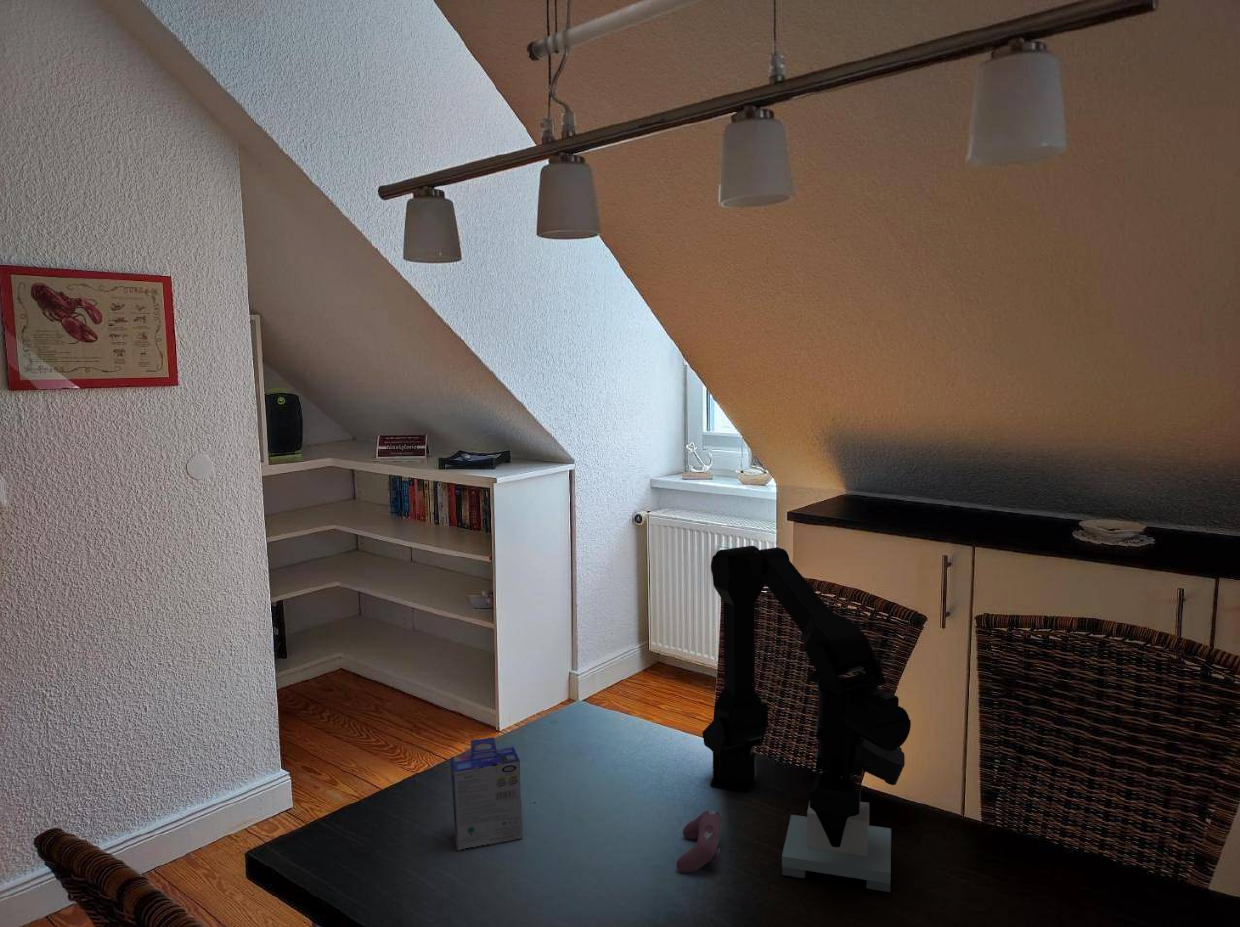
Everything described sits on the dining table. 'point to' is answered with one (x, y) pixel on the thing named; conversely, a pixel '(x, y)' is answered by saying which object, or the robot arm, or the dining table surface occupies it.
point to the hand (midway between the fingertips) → (837, 828)
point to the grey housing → (852, 837)
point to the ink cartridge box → (486, 796)
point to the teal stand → (838, 857)
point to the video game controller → (701, 841)
